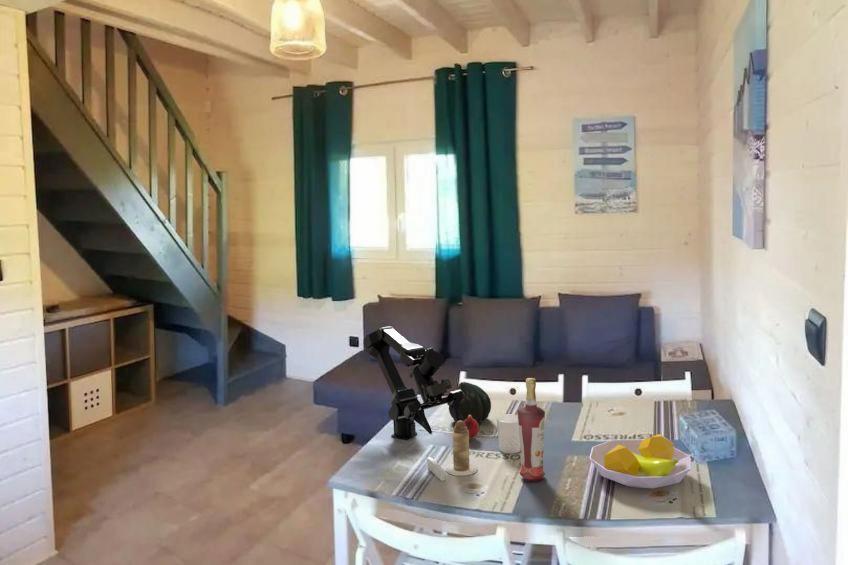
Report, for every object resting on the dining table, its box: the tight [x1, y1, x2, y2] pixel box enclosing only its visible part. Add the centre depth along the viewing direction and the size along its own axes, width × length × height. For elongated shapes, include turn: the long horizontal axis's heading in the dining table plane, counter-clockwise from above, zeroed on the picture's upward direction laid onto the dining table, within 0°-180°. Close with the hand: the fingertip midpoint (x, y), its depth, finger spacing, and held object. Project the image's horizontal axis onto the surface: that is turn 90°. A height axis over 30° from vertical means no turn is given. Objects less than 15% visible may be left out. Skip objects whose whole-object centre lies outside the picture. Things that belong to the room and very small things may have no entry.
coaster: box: [445, 462, 478, 477], centre depth 187 cm, size 9×9×1 cm
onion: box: [464, 415, 480, 440], centre depth 210 cm, size 6×6×8 cm
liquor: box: [517, 377, 546, 482], centre depth 178 cm, size 7×7×28 cm
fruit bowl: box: [589, 433, 692, 489], centre depth 176 cm, size 28×27×11 cm
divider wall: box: [427, 457, 446, 482], centre depth 185 cm, size 10×1×3 cm, turn 22°
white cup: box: [496, 413, 520, 454], centre depth 200 cm, size 8×8×10 cm
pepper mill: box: [452, 420, 471, 471], centre depth 186 cm, size 5×5×14 cm
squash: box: [448, 381, 492, 425], centre depth 227 cm, size 14×15×15 cm
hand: (445, 429), depth 193 cm, fingers open, 9 cm apart
